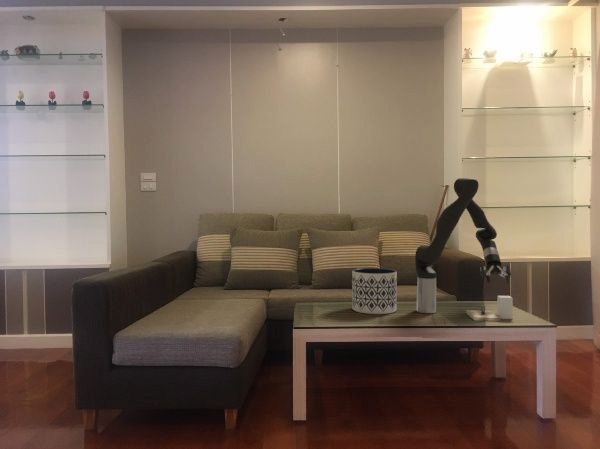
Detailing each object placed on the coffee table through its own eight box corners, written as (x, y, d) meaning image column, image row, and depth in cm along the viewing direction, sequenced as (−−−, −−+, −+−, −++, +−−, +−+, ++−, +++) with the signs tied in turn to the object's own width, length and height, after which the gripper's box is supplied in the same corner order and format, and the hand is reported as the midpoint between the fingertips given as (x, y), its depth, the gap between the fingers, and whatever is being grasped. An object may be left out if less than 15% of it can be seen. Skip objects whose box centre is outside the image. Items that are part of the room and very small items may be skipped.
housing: (500, 318, 235) (500, 297, 235) (497, 316, 240) (497, 295, 240) (512, 318, 235) (512, 297, 234) (508, 316, 240) (509, 295, 240)
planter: (346, 312, 249) (346, 271, 249) (360, 304, 269) (360, 267, 269) (390, 316, 240) (390, 274, 239) (401, 308, 260) (401, 269, 259)
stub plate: (474, 320, 231) (474, 308, 231) (466, 313, 247) (466, 302, 247) (501, 321, 230) (501, 309, 230) (491, 313, 246) (491, 302, 246)
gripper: (479, 253, 257) (484, 278, 246) (507, 253, 256) (514, 278, 245) (476, 262, 263) (481, 287, 252) (504, 262, 261) (511, 287, 250)
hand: (498, 283), depth 248 cm, fingers open, 8 cm apart
